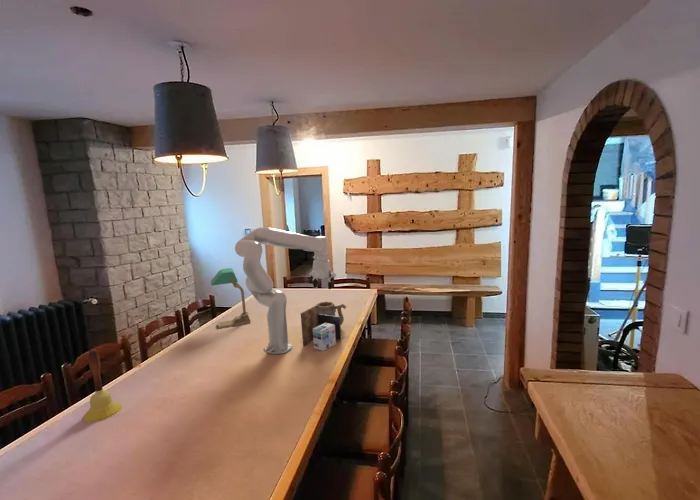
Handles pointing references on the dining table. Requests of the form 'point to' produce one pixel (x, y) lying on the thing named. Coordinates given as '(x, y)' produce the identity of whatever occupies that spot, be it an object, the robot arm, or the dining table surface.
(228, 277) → the banker's lamp
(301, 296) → the dining table surface
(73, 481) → the dining table surface
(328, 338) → the light bulb box
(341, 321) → the tankard
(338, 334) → the bookend
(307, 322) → the walnut wall
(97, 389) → the handbell
